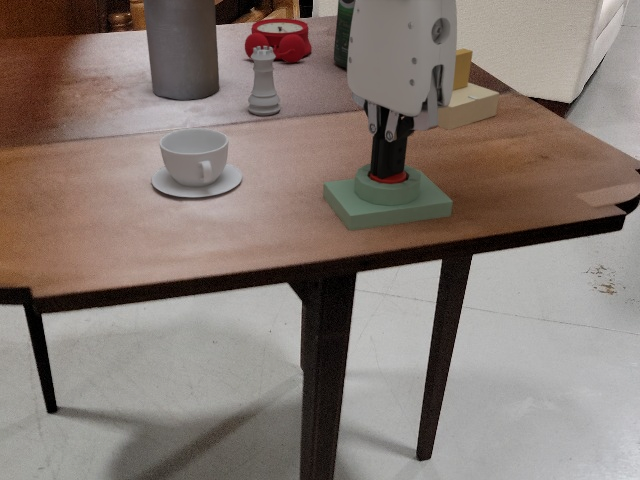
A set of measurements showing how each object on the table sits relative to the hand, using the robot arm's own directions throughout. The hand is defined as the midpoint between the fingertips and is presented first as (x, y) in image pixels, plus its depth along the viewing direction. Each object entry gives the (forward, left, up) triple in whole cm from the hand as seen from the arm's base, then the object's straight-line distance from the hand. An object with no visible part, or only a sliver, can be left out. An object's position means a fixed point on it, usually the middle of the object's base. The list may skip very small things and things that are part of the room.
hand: (386, 173), depth 74 cm
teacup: (+17, +12, -4) cm, 21 cm away
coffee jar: (+38, -31, -4) cm, 49 cm away
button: (0, 0, -2) cm, 2 cm away
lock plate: (+16, -26, -4) cm, 30 cm away
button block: (0, 0, -4) cm, 4 cm away
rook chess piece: (+31, -7, -4) cm, 32 cm away
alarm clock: (+51, -24, -4) cm, 56 cm away
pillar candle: (+45, -3, -4) cm, 45 cm away
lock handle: (+16, -26, -1) cm, 30 cm away
